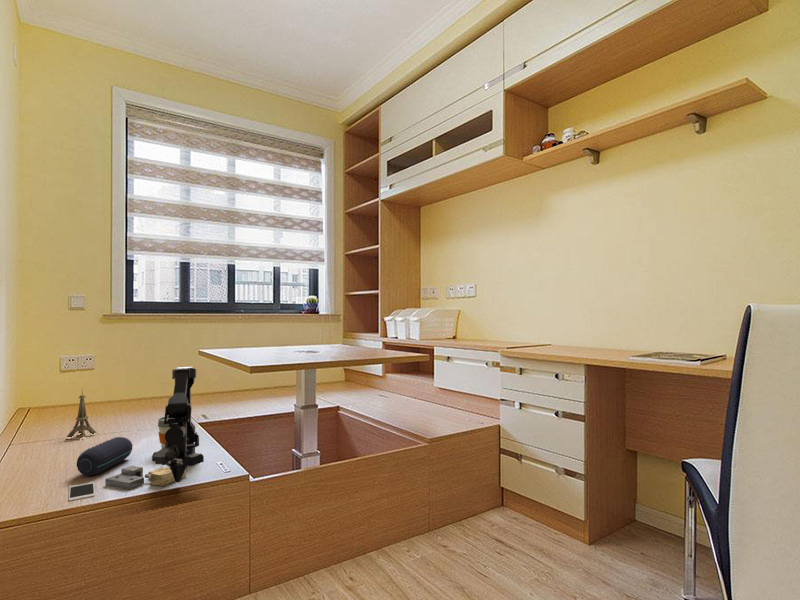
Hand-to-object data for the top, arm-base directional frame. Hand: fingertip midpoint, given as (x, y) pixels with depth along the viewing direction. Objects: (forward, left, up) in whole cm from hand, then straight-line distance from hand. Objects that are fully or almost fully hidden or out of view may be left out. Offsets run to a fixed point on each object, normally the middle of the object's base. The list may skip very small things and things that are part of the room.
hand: (177, 482), depth 163 cm
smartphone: (+15, -27, -2) cm, 31 cm away
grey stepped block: (+3, -19, -1) cm, 20 cm away
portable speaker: (-5, -45, -2) cm, 45 cm away
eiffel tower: (-35, -103, -2) cm, 109 cm away
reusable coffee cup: (-31, -36, -2) cm, 48 cm away
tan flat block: (-3, -11, -1) cm, 11 cm away
